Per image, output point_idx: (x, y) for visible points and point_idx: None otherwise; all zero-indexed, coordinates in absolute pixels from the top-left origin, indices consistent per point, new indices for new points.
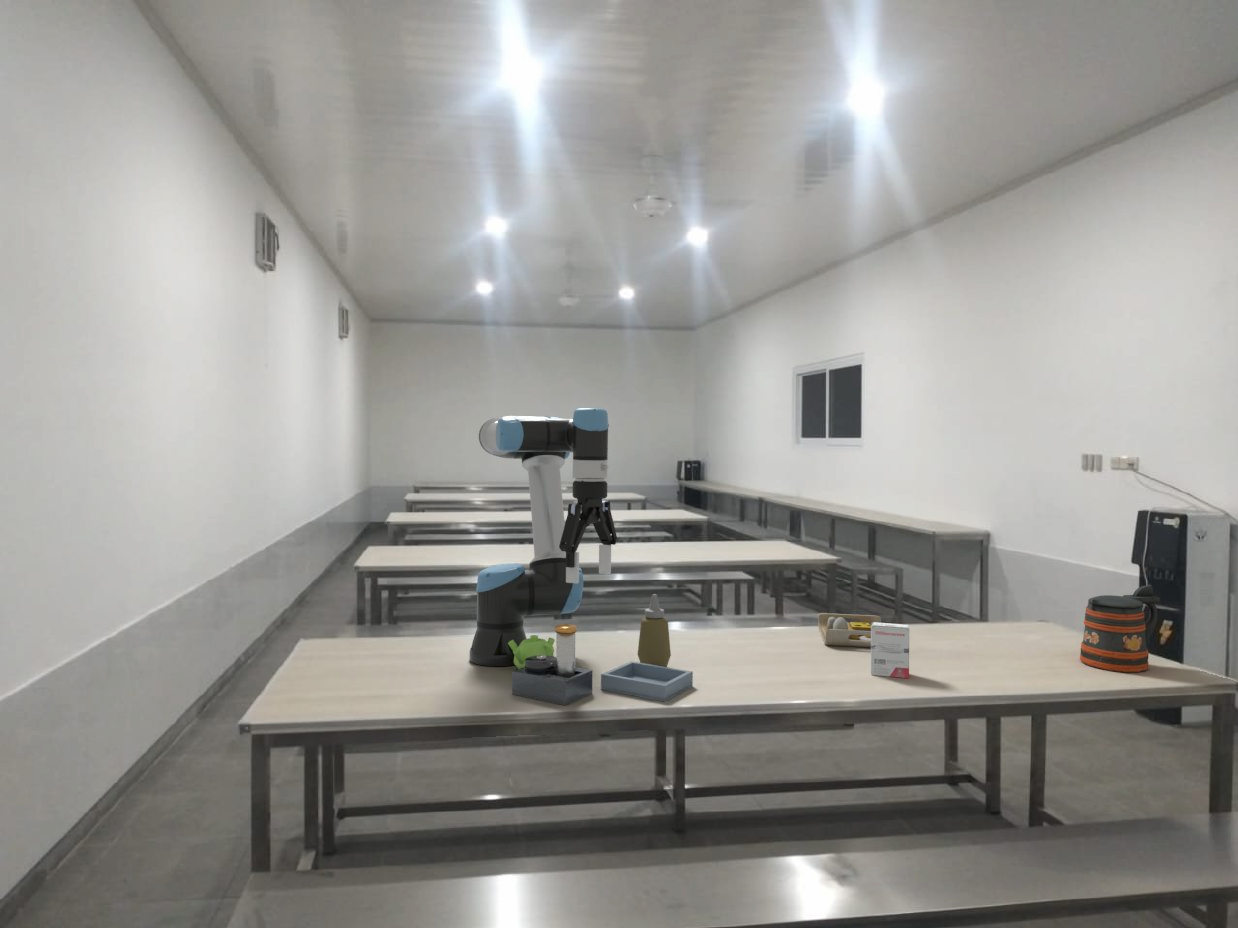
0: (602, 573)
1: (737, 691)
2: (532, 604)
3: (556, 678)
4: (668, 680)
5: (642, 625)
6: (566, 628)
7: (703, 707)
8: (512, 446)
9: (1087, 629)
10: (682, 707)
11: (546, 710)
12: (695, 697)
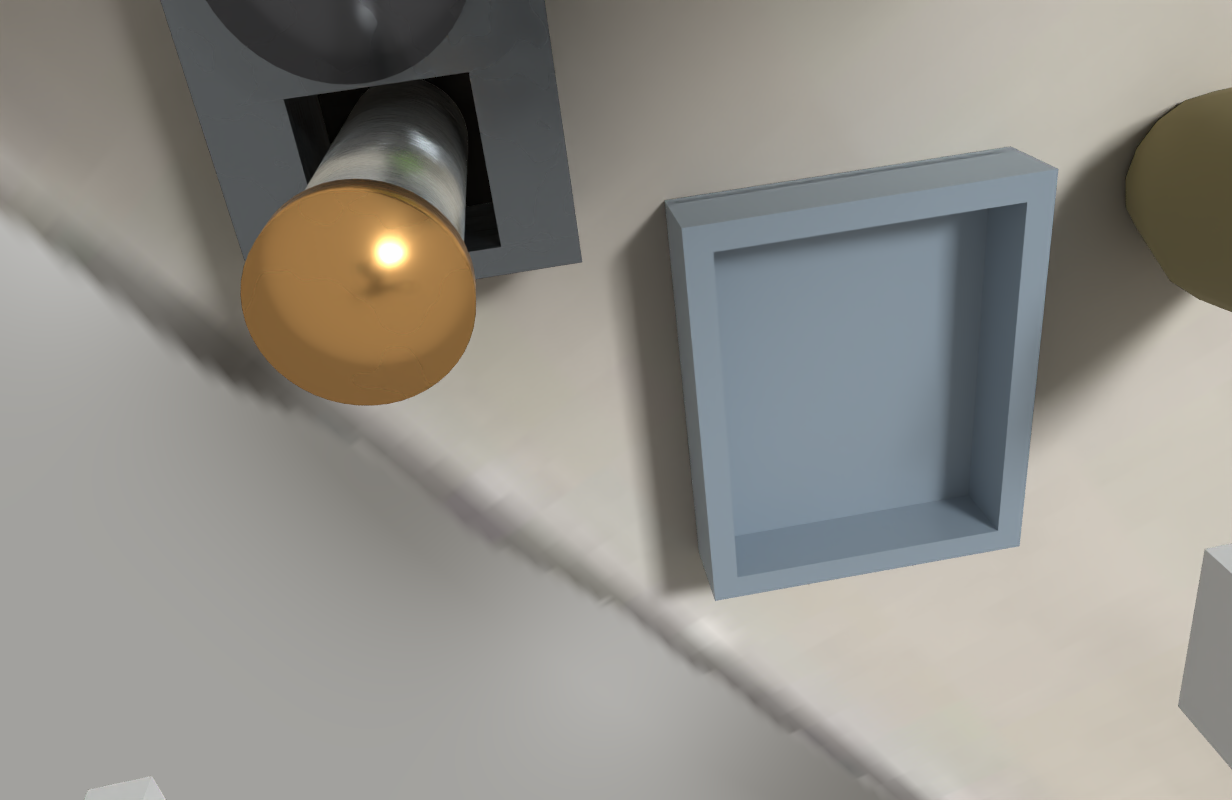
0: (1197, 613)
1: (1007, 658)
2: None
3: (256, 222)
4: (975, 404)
5: None
6: (306, 363)
7: (732, 686)
8: None
9: None
10: (678, 638)
11: (146, 238)
12: (833, 599)
